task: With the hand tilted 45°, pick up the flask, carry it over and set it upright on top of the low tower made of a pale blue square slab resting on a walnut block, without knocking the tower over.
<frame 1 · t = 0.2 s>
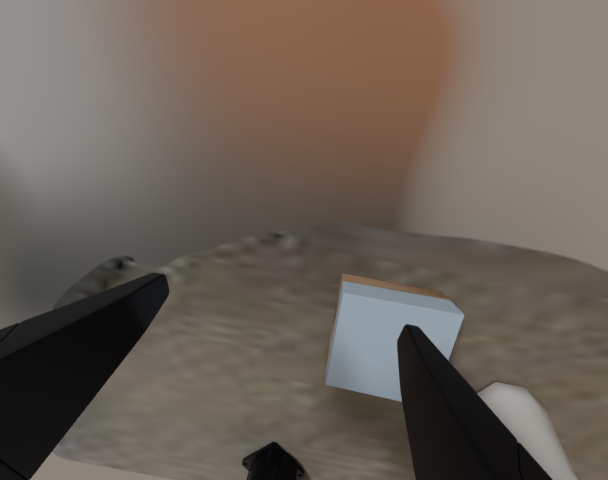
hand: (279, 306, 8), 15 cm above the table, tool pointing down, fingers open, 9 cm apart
flask: (499, 406, 26), on the table
walnut block: (379, 320, 25), on the table, touching pale blue square slab
pale blue square slab: (383, 335, 23), point 2 cm above the table, touching walnut block
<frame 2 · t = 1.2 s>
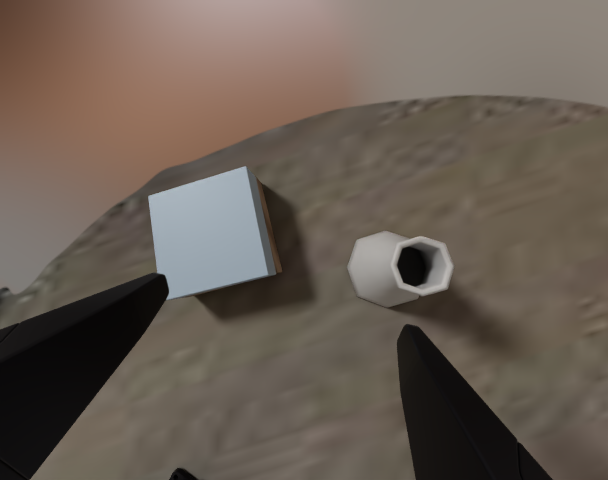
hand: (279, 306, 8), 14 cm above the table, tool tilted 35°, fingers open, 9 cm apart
flask: (385, 268, 22), on the table
walnut block: (230, 239, 25), on the table, touching pale blue square slab
pale blue square slab: (218, 236, 23), point 2 cm above the table, touching walnut block
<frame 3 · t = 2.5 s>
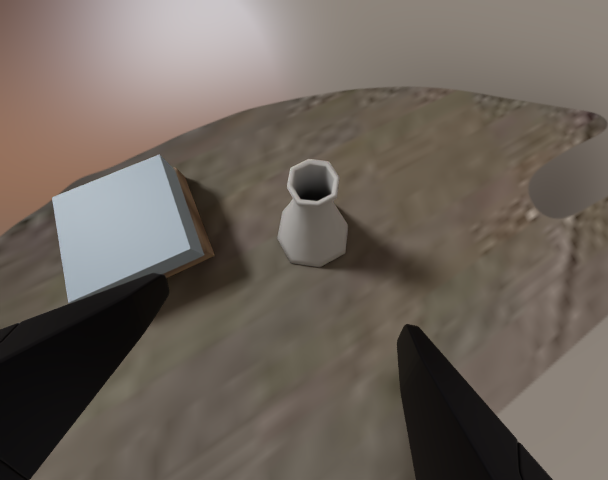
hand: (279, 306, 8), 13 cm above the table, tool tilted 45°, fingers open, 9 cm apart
flask: (312, 233, 23), on the table
walnut block: (157, 236, 24), on the table, touching pale blue square slab
pale blue square slab: (139, 231, 22), point 2 cm above the table, touching walnut block
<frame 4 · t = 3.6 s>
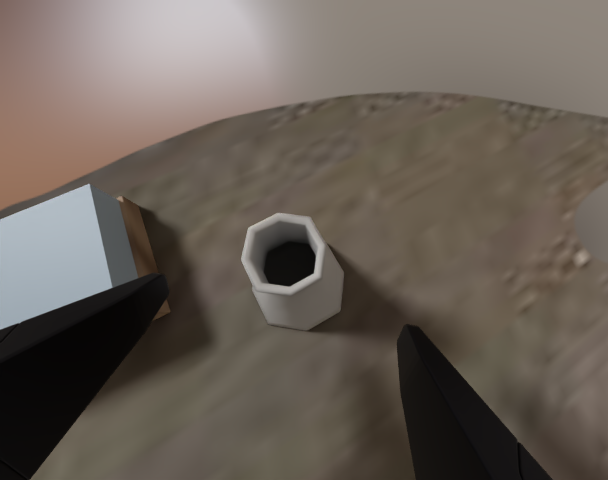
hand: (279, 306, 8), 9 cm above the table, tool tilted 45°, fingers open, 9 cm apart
flask: (298, 282, 18), on the table
walnut block: (100, 283, 19), on the table
pale blue square slab: (64, 284, 17), point 2 cm above the table
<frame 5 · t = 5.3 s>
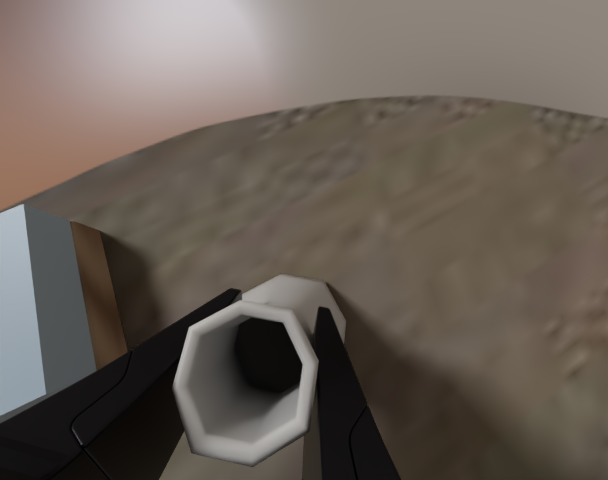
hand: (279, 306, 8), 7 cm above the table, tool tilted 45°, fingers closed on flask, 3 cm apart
flask: (289, 330, 15), on the table, touching gripper
walnut block: (48, 326, 16), on the table, touching pale blue square slab
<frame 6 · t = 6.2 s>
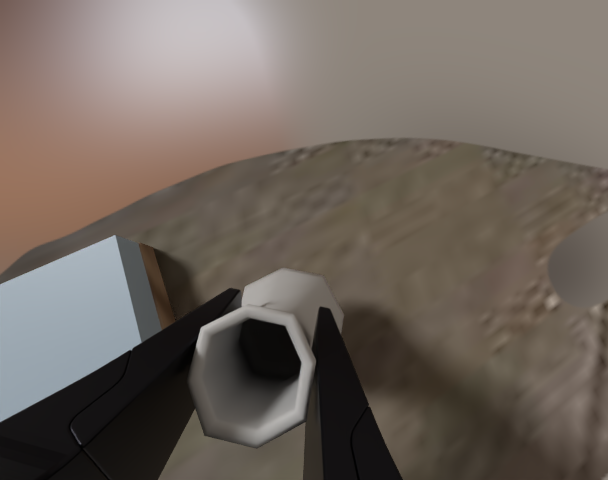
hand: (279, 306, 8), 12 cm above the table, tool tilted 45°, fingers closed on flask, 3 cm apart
flask: (290, 321, 15), point 5 cm above the table, touching gripper
walnut block: (121, 319, 21), on the table, touching pale blue square slab
pale blue square slab: (94, 321, 19), point 2 cm above the table, touching walnut block
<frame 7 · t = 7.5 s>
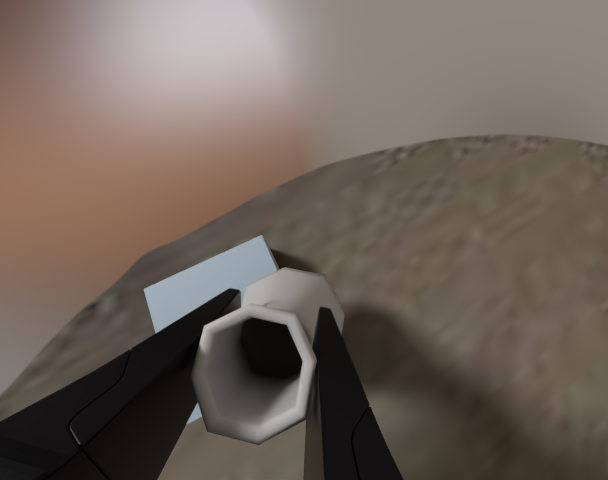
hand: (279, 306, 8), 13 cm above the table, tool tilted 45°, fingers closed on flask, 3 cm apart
flask: (291, 320, 16), point 6 cm above the table, touching gripper
pale blue square slab: (236, 319, 19), point 2 cm above the table, touching walnut block
when the fingers open (13 cm above the table, at t = 8.9 s): flask stays where it is, resting on pale blue square slab.
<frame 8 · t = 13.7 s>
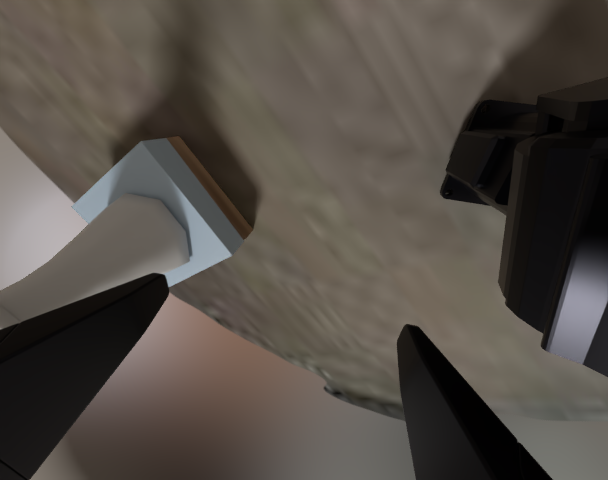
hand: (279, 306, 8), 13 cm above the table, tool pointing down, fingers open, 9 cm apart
flask: (153, 233, 19), point 4 cm above the table, touching pale blue square slab
walnut block: (188, 210, 23), on the table, touching pale blue square slab
pale blue square slab: (171, 219, 21), point 2 cm above the table, touching flask, walnut block
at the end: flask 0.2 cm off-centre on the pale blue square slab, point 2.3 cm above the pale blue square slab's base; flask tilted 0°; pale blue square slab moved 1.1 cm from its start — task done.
